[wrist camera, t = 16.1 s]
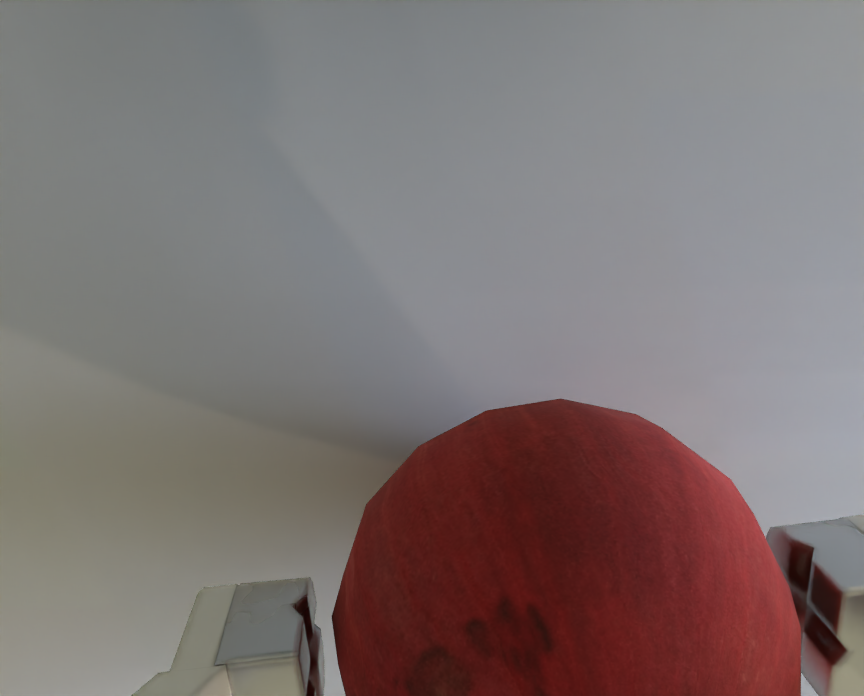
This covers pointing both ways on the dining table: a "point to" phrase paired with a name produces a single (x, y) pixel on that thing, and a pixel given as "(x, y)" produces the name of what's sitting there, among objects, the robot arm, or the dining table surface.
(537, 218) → the dining table surface
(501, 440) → the onion
